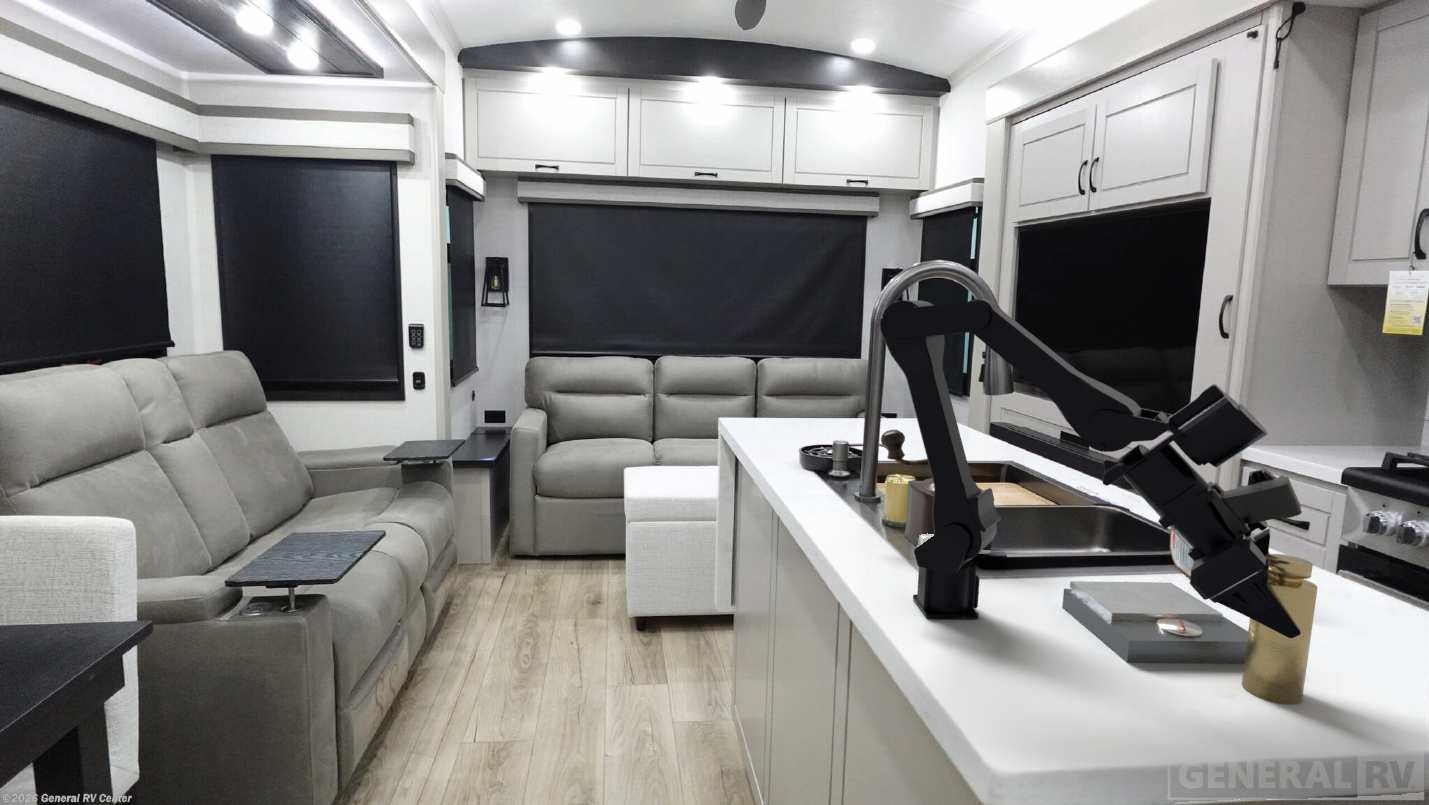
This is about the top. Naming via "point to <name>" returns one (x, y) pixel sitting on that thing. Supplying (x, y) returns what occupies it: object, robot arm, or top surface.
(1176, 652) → the scale
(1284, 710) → the top surface
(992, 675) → the top surface
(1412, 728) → the top surface
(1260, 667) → the weight
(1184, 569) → the tin
